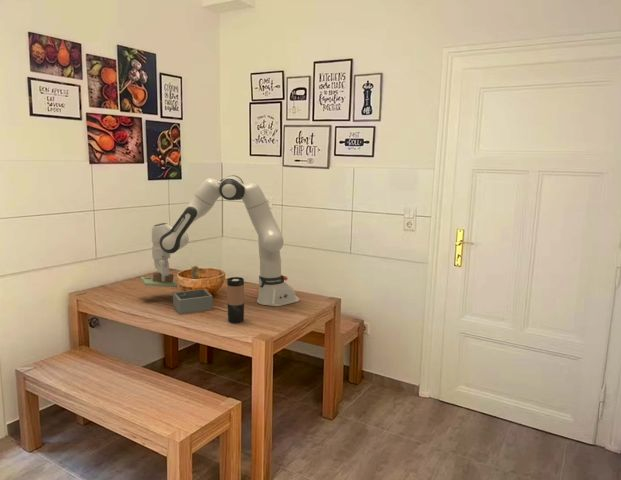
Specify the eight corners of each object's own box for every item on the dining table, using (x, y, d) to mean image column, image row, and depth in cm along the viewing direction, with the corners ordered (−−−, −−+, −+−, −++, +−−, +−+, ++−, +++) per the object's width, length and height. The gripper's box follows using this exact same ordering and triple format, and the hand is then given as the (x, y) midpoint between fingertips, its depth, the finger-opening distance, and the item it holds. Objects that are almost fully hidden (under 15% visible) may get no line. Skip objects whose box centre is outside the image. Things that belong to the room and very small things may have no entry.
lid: (171, 280, 255) (172, 271, 255) (177, 287, 243) (178, 276, 242) (140, 279, 247) (141, 269, 247) (145, 286, 235) (146, 275, 235)
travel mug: (247, 319, 220) (246, 278, 216) (239, 324, 213) (238, 282, 209) (232, 317, 222) (232, 276, 219) (224, 322, 215) (223, 280, 212)
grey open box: (204, 303, 242) (204, 288, 240) (212, 311, 230) (212, 296, 228) (173, 307, 234) (172, 292, 233) (179, 316, 222) (179, 300, 221)
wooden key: (197, 297, 252) (196, 265, 249) (199, 298, 250) (198, 266, 247) (192, 298, 251) (191, 266, 248) (193, 299, 248) (192, 267, 245)
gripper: (171, 257, 234) (172, 284, 237) (163, 250, 252) (164, 275, 254) (158, 258, 231) (159, 285, 234) (151, 251, 249) (152, 276, 252)
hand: (162, 280), depth 244 cm, fingers closed on lid, 2 cm apart
